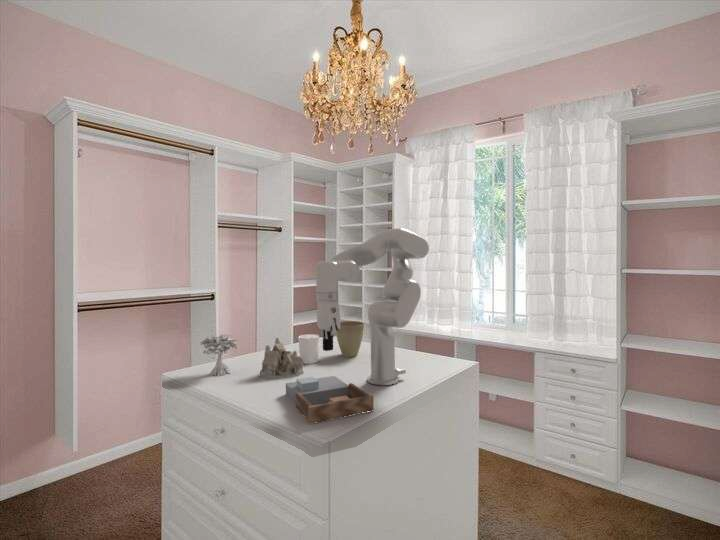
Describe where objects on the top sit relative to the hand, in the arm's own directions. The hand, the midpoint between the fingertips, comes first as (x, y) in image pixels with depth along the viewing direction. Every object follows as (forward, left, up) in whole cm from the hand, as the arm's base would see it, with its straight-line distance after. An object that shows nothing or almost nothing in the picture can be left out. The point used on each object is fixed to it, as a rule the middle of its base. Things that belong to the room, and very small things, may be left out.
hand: (328, 349), depth 141 cm
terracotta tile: (-1, +8, -15) cm, 17 cm away
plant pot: (-33, -53, -17) cm, 64 cm away
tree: (+29, -51, -17) cm, 61 cm away
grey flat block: (+2, -5, -17) cm, 18 cm away
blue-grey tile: (+6, -4, -13) cm, 15 cm away
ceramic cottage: (+6, -37, -18) cm, 41 cm away
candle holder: (-11, -51, -17) cm, 55 cm away
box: (+2, +10, -17) cm, 20 cm away
